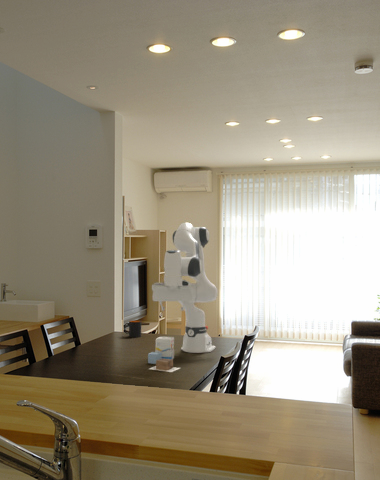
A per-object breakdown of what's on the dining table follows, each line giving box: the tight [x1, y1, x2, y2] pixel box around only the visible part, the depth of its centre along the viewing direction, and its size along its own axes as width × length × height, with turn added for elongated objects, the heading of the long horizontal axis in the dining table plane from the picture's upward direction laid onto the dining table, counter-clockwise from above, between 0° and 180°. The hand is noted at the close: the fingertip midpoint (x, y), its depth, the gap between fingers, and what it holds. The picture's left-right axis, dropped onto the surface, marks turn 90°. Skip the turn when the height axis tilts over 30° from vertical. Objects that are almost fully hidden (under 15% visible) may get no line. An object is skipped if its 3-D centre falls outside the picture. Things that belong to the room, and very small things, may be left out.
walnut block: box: [155, 358, 174, 371], centre depth 233 cm, size 6×6×4 cm
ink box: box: [154, 336, 175, 360], centre depth 255 cm, size 9×8×12 cm
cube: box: [147, 351, 162, 365], centre depth 246 cm, size 5×5×5 cm
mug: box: [123, 319, 142, 338], centre depth 330 cm, size 8×12×10 cm
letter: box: [148, 365, 181, 373], centre depth 233 cm, size 9×13×1 cm
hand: (172, 310), depth 238 cm, fingers open, 8 cm apart
